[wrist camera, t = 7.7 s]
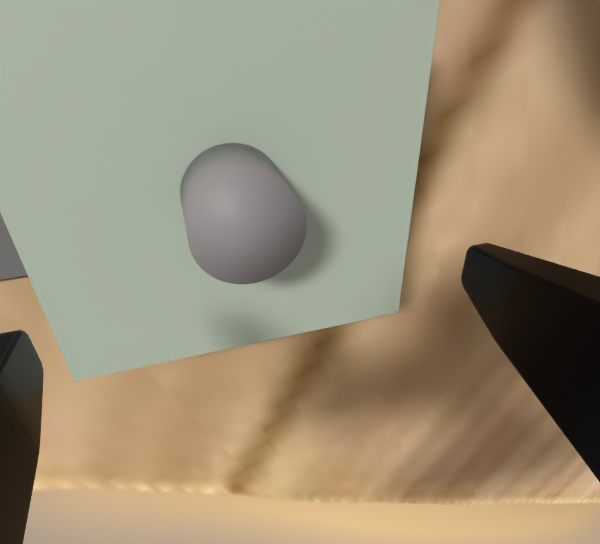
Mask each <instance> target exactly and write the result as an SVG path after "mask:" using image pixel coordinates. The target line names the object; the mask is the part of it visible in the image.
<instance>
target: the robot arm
mask: <svg viewBox="0 0 600 544" xmlns="http://www.w3.org/2000/svg"><path fill="white" fill-rule="evenodd" d="M461 280H462V285H463V287H464V289H465V291H466V293H467V294H468V296H469V298H470V299H471V301H472V303H473V304H474V306H475V308H476V310H477V311H478V313H479V315H480V316H481V318H482V320H483V321H484V323H485V325H486V326H487V328H488V330H489V332H490V333H491V335H492V336H493V338H494V340H495V341H496V342H497V344H498V345H499V347H500V348H501V350H502V351H503V352H504V354H505V355H506V356H507V358H508V359H509V360H510V362H511V363H512V364H513V366H514V367H515V368H516V370H517V371H518V372H519V374H520V375H521V377H522V378H523V379H524V381H525V382H526V383H527V385H528V386H529V387H530V389H531V390H532V391H533V393H534V394H535V395H536V397H537V398H538V399H539V401H540V402H541V403H542V405H543V406H544V408H545V409H546V410H547V412H548V413H549V414H550V416H551V417H552V418H553V420H554V421H555V422H556V424H557V425H558V426H559V428H560V429H561V430H562V432H563V433H564V435H565V436H566V437H567V439H568V440H569V441H570V443H571V444H572V445H573V447H574V448H575V449H576V451H577V452H578V453H579V455H580V456H581V457H582V459H583V460H584V462H585V463H586V464H587V466H588V467H589V468H590V470H591V471H592V472H593V474H594V475H595V476H596V478H597V479H598V480H599V482H600V277H599V276H595V275H592V274H589V273H586V272H582V271H579V270H576V269H572V268H569V267H566V266H562V265H559V264H556V263H553V262H549V261H546V260H543V259H539V258H536V257H533V256H529V255H526V254H523V253H520V252H516V251H513V250H510V249H506V248H503V247H500V246H496V245H493V244H490V243H483V244H478V245H473V246H471V247H469V249H468V250H467V253H466V258H465V262H464V267H463V271H462V276H461ZM42 395H43V367H42V363H41V361H40V359H39V357H38V354H37V352H36V350H35V348H34V346H33V344H32V342H31V340H30V338H29V336H28V334H27V333H26V332H25V331H22V330H17V331H12V332H6V333H1V334H0V544H23V539H24V534H25V529H26V523H27V517H28V511H29V507H30V501H31V496H32V490H33V485H34V479H35V474H36V468H37V462H38V456H39V448H40V434H41V414H42Z"/></svg>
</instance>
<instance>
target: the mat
mask: <svg viewBox="0 0 600 544" xmlns="http://www.w3.org/2000/svg"><path fill="white" fill-rule="evenodd" d="M20 276H27V272H26V270H25V268H24V266H23V263H22V261H21V259H20V256H19V254H18V252H17V250H16V247H15V245H14V243H13V240H12V238H11V236H10V234H9V231H8V229H7V227H6V224H5V222H4V220H3V218H2V215H1V213H0V280H2V279H8V278H14V277H20Z"/></svg>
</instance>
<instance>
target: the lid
mask: <svg viewBox="0 0 600 544" xmlns="http://www.w3.org/2000/svg"><path fill="white" fill-rule="evenodd" d="M439 4H440V0H0V213H1V215H2V218H3V220H4V222H5V224H6V227H7V229H8V231H9V234H10V236H11V238H12V240H13V243H14V245H15V247H16V250H17V252H18V254H19V256H20V259H21V261H22V263H23V266H24V268H25V270H26V272H27V275H28V277H29V279H30V282H31V284H32V286H33V288H34V291H35V293H36V295H37V298H38V300H39V302H40V304H41V307H42V309H43V311H44V314H45V316H46V318H47V320H48V323H49V325H50V327H51V330H52V332H53V334H54V336H55V339H56V341H57V343H58V346H59V348H60V350H61V352H62V355H63V357H64V359H65V362H66V364H67V366H68V368H69V371H70V373H71V375H72V378H73V380H74V381H79V380H84V379H88V378H93V377H98V376H103V375H107V374H112V373H117V372H121V371H126V370H131V369H135V368H140V367H145V366H150V365H154V364H159V363H164V362H168V361H173V360H178V359H182V358H187V357H192V356H197V355H201V354H206V353H211V352H215V351H220V350H225V349H229V348H234V347H239V346H244V345H248V344H253V343H258V342H262V341H267V340H272V339H276V338H281V337H286V336H291V335H295V334H300V333H305V332H309V331H314V330H319V329H323V328H328V327H333V326H338V325H342V324H347V323H352V322H356V321H361V320H366V319H370V318H375V317H380V316H385V315H389V314H394V313H398V310H399V303H400V295H401V288H402V280H403V273H404V265H405V258H406V250H407V243H408V235H409V228H410V221H411V213H412V206H413V198H414V191H415V183H416V176H417V168H418V161H419V153H420V146H421V138H422V131H423V123H424V116H425V108H426V101H427V93H428V86H429V78H430V71H431V63H432V56H433V48H434V41H435V33H436V26H437V19H438V11H439Z"/></svg>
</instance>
